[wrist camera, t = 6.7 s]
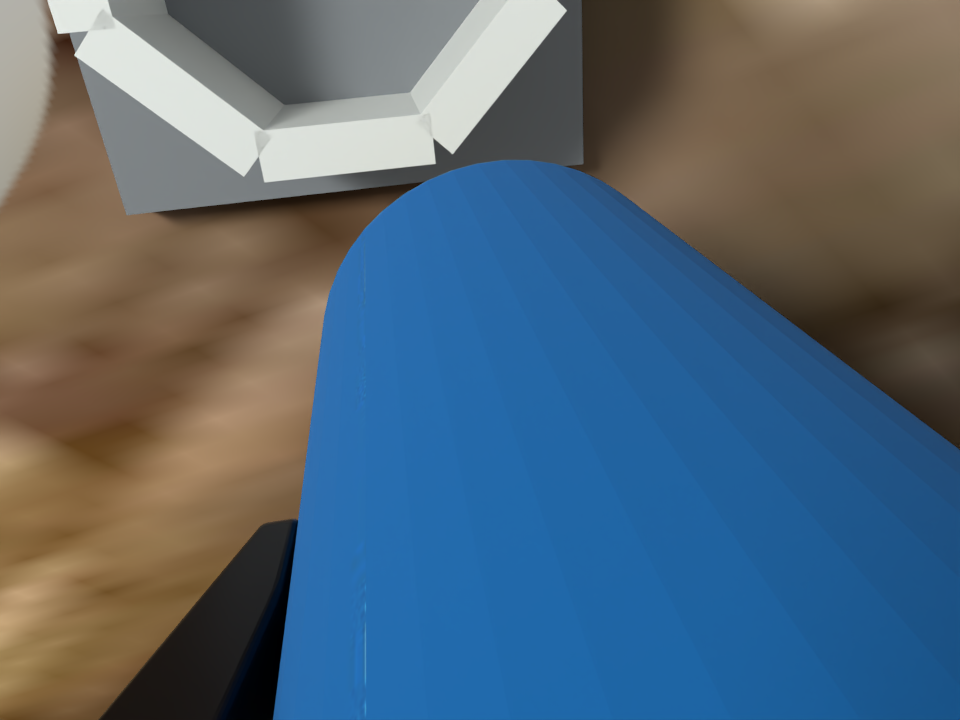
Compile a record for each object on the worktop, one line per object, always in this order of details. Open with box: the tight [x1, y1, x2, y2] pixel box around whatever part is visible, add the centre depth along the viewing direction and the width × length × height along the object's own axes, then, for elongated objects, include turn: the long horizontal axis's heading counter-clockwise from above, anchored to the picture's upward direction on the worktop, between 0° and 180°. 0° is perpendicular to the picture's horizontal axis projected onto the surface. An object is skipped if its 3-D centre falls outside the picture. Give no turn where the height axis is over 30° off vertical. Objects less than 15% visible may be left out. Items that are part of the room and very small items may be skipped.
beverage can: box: [273, 160, 960, 720], centre depth 8 cm, size 6×6×12 cm
